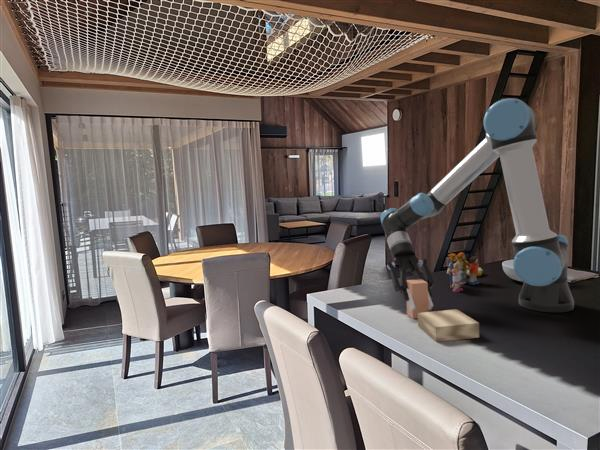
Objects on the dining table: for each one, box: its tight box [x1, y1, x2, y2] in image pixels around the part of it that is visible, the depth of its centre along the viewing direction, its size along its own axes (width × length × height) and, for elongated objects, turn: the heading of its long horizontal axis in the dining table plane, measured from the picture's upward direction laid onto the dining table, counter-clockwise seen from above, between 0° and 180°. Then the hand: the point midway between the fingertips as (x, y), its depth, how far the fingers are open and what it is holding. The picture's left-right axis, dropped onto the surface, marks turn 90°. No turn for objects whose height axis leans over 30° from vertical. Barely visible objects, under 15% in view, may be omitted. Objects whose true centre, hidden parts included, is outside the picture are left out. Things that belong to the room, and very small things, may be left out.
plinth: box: [417, 308, 480, 343], centre depth 112 cm, size 12×12×4 cm
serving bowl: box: [501, 258, 524, 283], centre depth 159 cm, size 21×21×7 cm
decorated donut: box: [466, 267, 484, 278], centre depth 175 cm, size 10×11×4 cm
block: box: [406, 278, 429, 319], centre depth 127 cm, size 5×5×11 cm
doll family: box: [446, 252, 480, 293], centre depth 158 cm, size 21×10×13 cm, turn 132°
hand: (422, 308), depth 123 cm, fingers closed on block, 5 cm apart
